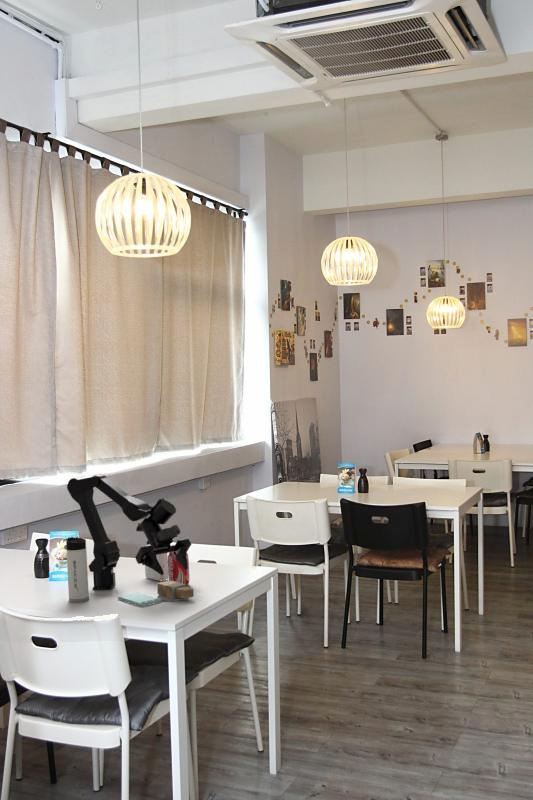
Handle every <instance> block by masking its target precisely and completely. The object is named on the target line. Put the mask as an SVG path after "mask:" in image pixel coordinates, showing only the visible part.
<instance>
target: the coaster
mask: <svg viewBox="0 0 533 800" xmlns="http://www.w3.org/2000/svg"><path fill="white" fill-rule="evenodd" d="M156 598H158V599H161V602H182V600H187V601H188V599H189V598H186V599H183V598H180V597H178V598H174V599H173V598H170V597H167V596H163V595H159V594H157V596H156ZM175 600H176V601H175ZM179 600H181V601H179Z"/></svg>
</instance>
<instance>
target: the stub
mask: <svg viewBox="0 0 533 800" xmlns="http://www.w3.org/2000/svg"><path fill="white" fill-rule="evenodd" d="M156 584H157V587H156V588H157V590H156V591H157V595H163V596H167V597H170V598H173V599H174V598H178V597H180V598H183V599H186V598H188V599H189V598H190V599H191V598H193V597H194V595H195V594H194V587H193V588H192V587H188V586H187V585H186V584H182V583H178V582H174V581H169V580H166V581H160V582H157V583H156Z"/></svg>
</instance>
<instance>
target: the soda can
mask: <svg viewBox="0 0 533 800" xmlns="http://www.w3.org/2000/svg"><path fill="white" fill-rule="evenodd" d="M167 556H168V581H174V582H178V583H182V584H186V586H188V584H190V563H189V561H190V559H189V554H188V552H187V553H186V558H187V565H188V569H187V570H185V569H184V568H183V567H182V565H181V564H180V563H179V561H178V560H177V559H176V555H174V553H173V552H169V553H168V554H167Z"/></svg>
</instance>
